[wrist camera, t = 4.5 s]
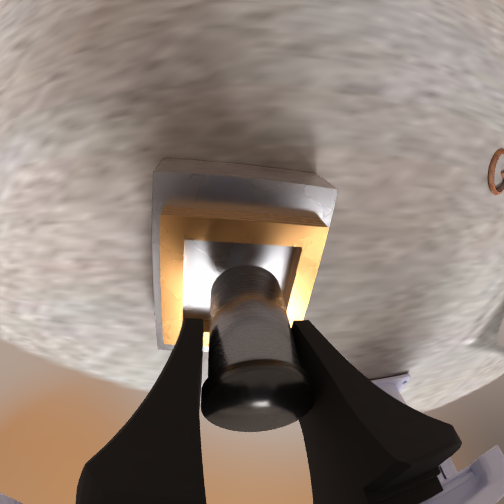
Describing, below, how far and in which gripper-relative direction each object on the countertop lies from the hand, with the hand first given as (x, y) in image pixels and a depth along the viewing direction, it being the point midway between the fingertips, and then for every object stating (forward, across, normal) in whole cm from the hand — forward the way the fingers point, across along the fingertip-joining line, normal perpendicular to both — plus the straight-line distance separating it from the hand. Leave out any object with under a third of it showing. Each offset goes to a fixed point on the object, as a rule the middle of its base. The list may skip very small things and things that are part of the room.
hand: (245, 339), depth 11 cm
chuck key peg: (+2, 0, 0) cm, 2 cm away
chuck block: (+7, 0, 0) cm, 7 cm away
